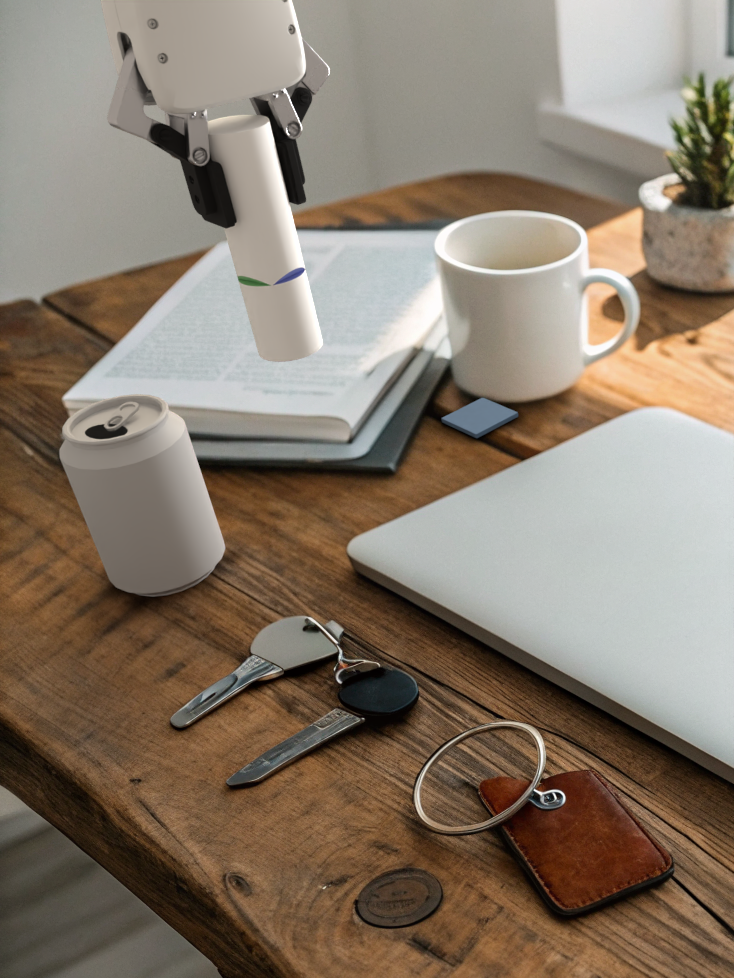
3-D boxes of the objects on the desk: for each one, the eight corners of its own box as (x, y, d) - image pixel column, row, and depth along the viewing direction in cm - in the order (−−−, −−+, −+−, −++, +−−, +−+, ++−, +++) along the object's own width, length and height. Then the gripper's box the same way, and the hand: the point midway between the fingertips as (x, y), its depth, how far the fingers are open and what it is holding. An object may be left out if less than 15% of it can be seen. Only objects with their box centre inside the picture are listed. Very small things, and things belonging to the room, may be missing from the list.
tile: (476, 438, 92) (476, 434, 92) (441, 422, 94) (440, 418, 94) (518, 416, 95) (518, 412, 94) (483, 401, 97) (482, 397, 97)
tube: (259, 340, 81) (198, 119, 73) (322, 330, 82) (269, 111, 74) (258, 366, 78) (194, 138, 69) (324, 355, 78) (269, 128, 70)
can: (87, 593, 77) (21, 436, 71) (165, 531, 83) (110, 380, 77) (178, 613, 75) (118, 452, 68) (251, 547, 81) (203, 393, 74)
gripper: (268, -131, 72) (333, 166, 82) (-14, -95, 61) (100, 239, 72) (339, -128, 67) (398, 185, 77) (49, -89, 57) (160, 266, 67)
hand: (254, 208), depth 74 cm, fingers closed on tube, 4 cm apart
